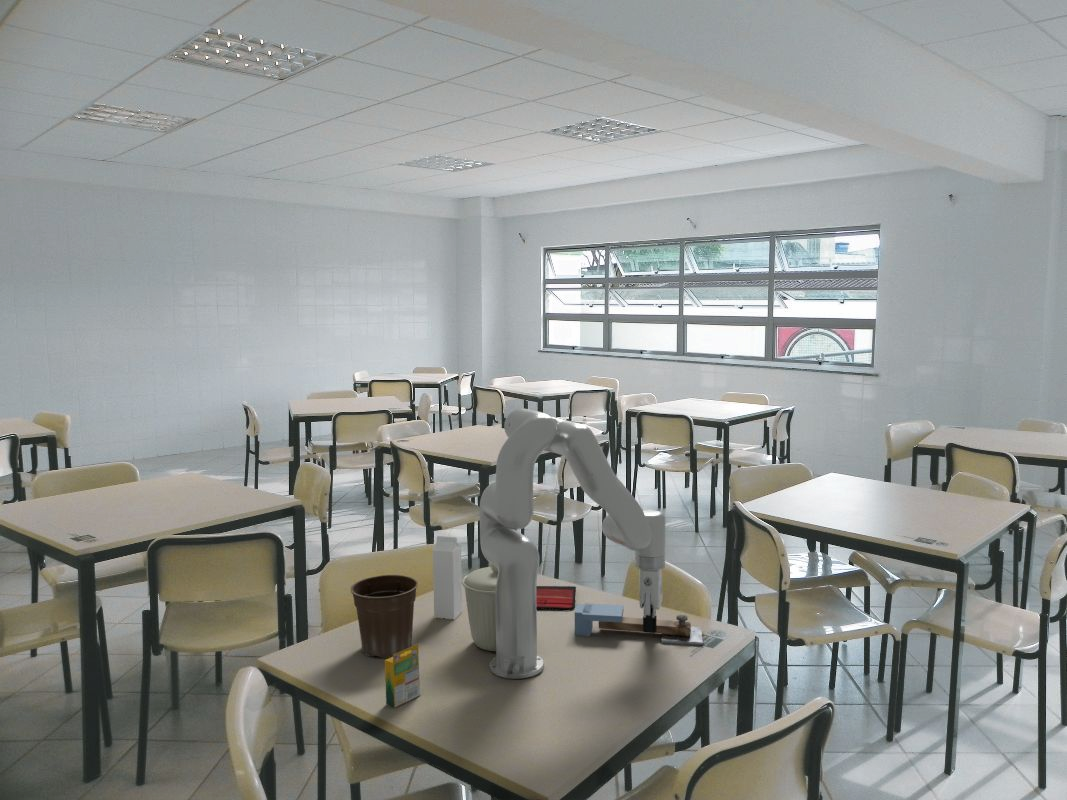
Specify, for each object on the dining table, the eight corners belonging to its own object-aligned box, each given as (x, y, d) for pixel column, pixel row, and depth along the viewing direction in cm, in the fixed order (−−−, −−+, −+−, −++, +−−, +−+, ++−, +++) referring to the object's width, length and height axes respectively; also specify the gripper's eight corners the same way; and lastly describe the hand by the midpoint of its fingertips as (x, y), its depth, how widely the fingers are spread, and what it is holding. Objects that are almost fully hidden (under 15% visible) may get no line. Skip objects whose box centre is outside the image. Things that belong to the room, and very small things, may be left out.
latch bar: (691, 630, 203) (691, 614, 202) (690, 636, 199) (690, 620, 198) (601, 623, 208) (600, 607, 208) (598, 629, 204) (598, 613, 204)
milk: (442, 610, 222) (440, 533, 220) (462, 612, 220) (461, 534, 218) (433, 618, 216) (431, 538, 214) (454, 620, 214) (452, 540, 212)
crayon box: (411, 691, 173) (409, 640, 172) (420, 695, 171) (419, 643, 170) (385, 704, 167) (383, 651, 166) (394, 708, 166) (393, 654, 164)
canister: (451, 654, 192) (449, 569, 190) (478, 626, 210) (477, 548, 207) (522, 662, 187) (521, 575, 185) (544, 633, 204) (543, 553, 202)
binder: (505, 584, 237) (576, 585, 236) (506, 591, 238) (576, 592, 236) (499, 605, 222) (575, 606, 220) (499, 613, 222) (575, 615, 220)
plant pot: (372, 668, 185) (370, 601, 183) (341, 647, 197) (339, 584, 196) (432, 649, 195) (430, 586, 193) (398, 630, 207) (397, 570, 206)
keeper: (621, 639, 200) (621, 616, 199) (574, 636, 202) (574, 613, 201) (623, 627, 208) (623, 605, 207) (577, 624, 210) (577, 602, 209)
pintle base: (702, 645, 196) (702, 642, 196) (661, 643, 197) (661, 640, 197) (701, 630, 205) (701, 627, 205) (662, 627, 207) (662, 624, 207)
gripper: (662, 570, 190) (662, 644, 191) (667, 552, 204) (667, 621, 206) (631, 568, 191) (631, 641, 193) (638, 551, 206) (638, 619, 208)
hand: (649, 631), depth 199 cm, fingers closed
